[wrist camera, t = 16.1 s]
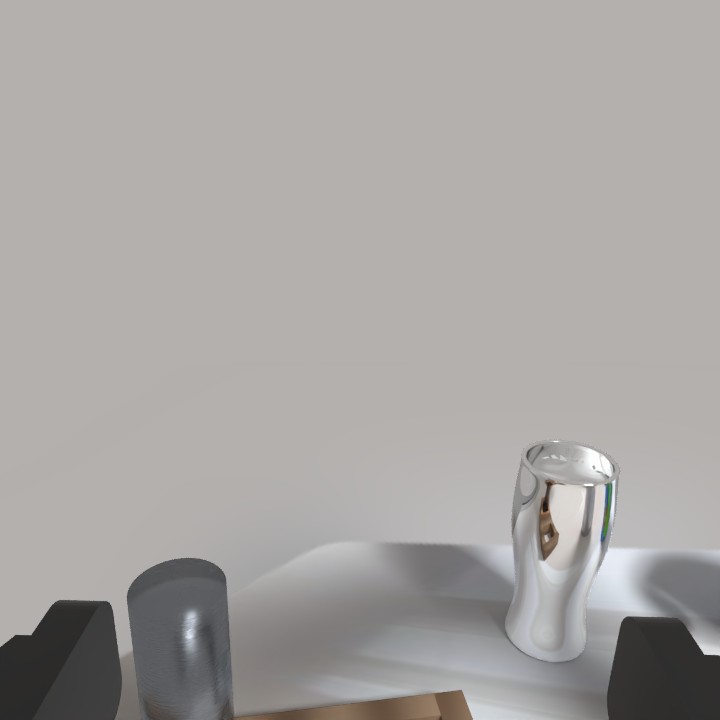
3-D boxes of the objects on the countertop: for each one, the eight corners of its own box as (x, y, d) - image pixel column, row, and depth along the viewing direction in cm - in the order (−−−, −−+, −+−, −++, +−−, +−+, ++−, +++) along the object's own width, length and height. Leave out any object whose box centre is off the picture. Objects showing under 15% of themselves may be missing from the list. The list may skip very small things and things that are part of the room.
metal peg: (240, 785, 36) (227, 554, 31) (239, 867, 32) (224, 617, 27) (162, 796, 36) (136, 561, 30) (151, 880, 32) (118, 627, 26)
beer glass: (605, 629, 49) (637, 458, 44) (569, 684, 44) (601, 498, 39) (523, 589, 53) (544, 429, 48) (482, 635, 48) (500, 461, 43)
